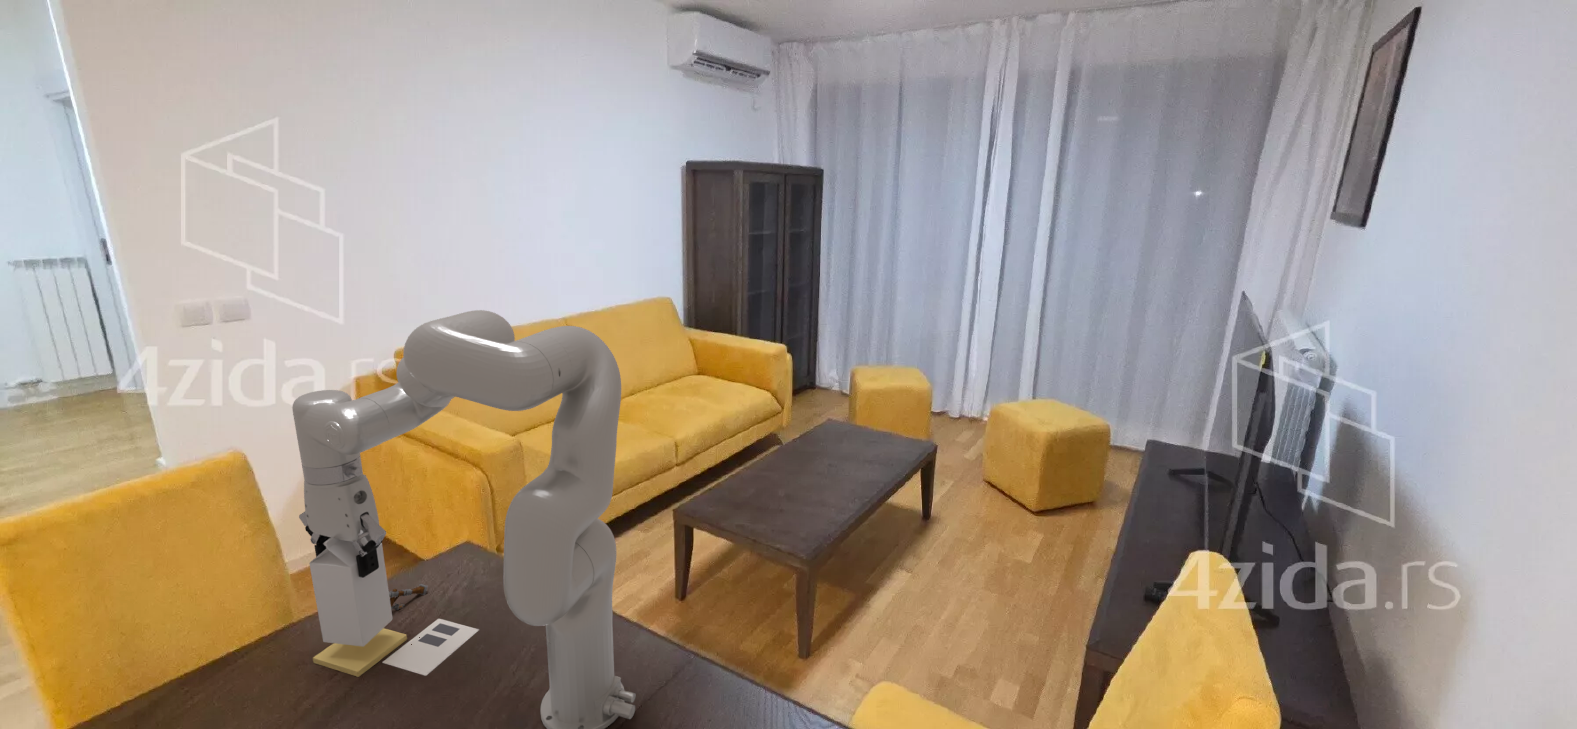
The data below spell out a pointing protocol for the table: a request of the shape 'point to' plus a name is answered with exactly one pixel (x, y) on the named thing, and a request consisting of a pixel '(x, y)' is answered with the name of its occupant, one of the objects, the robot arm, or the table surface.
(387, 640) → the coaster
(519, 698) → the table surface
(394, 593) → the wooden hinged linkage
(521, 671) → the table surface
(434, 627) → the tile
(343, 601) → the milk carton
